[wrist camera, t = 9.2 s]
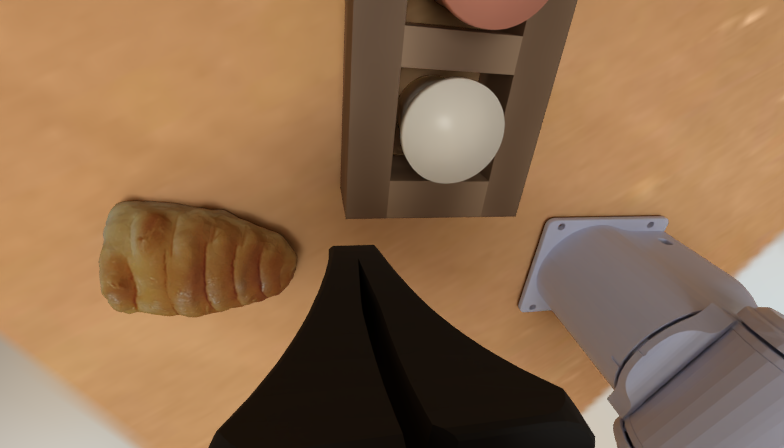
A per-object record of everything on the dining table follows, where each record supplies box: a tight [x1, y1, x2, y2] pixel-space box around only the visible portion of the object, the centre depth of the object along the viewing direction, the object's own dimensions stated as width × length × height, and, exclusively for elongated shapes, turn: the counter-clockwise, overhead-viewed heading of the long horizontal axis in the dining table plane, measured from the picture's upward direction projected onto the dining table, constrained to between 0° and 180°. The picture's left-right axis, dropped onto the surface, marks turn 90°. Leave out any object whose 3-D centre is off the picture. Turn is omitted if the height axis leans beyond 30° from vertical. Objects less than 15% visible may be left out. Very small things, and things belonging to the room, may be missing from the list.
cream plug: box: [396, 75, 505, 184], centre depth 18 cm, size 5×5×4 cm
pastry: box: [99, 201, 297, 317], centre depth 21 cm, size 9×7×4 cm
